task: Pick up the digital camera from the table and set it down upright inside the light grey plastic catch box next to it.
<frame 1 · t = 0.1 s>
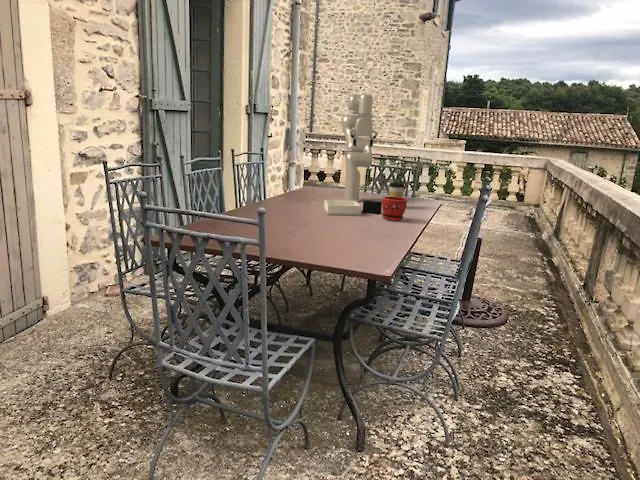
hand: (362, 146, 286), 37 cm above the table, tool pointing down, fingers open, 9 cm apart
digital camera: (372, 213, 281), on the table
coffee cup: (394, 207, 302), on the table
catch box: (341, 212, 278), on the table
plant pot: (393, 219, 265), on the table
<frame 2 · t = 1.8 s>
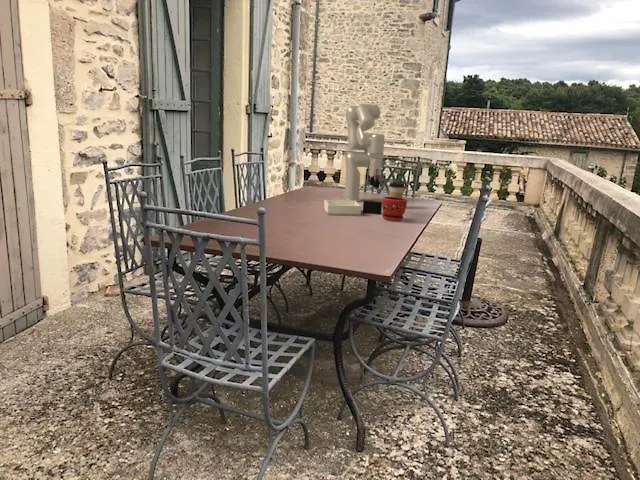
hand: (374, 186, 277), 15 cm above the table, tool pointing down, fingers open, 9 cm apart
nothing on the table moved.
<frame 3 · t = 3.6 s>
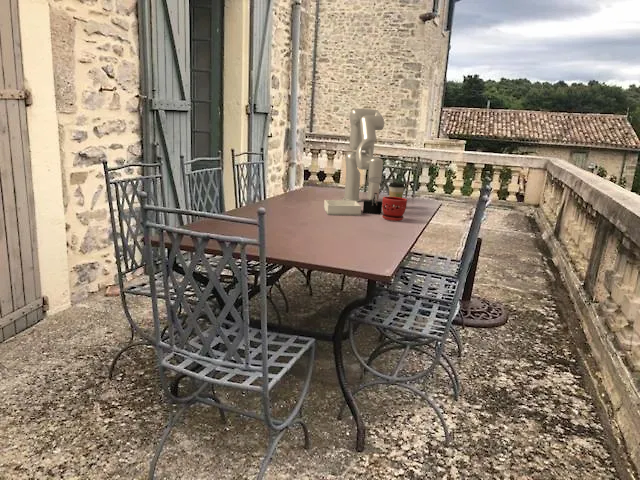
hand: (372, 210, 280), 1 cm above the table, tool pointing down, fingers closed on digital camera, 6 cm apart
digital camera: (372, 213, 281), on the table, touching gripper
everything else where it was.
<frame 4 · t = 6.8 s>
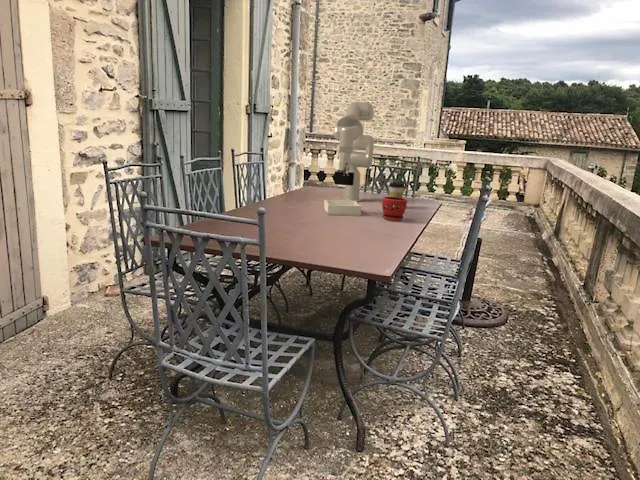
hand: (344, 181, 273), 18 cm above the table, tool pointing down, fingers closed on digital camera, 6 cm apart
digital camera: (344, 184, 274), point 16 cm above the table, touching gripper
everything else where it was.
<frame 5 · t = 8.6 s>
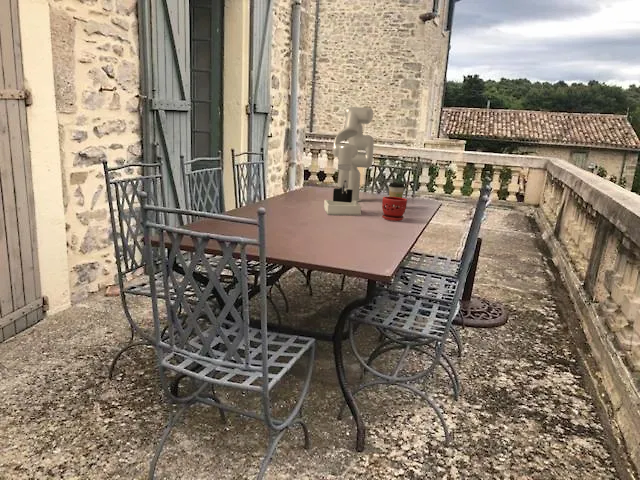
hand: (342, 198, 276), 8 cm above the table, tool pointing down, fingers closed on digital camera, 6 cm apart
digital camera: (342, 201, 276), point 6 cm above the table, touching gripper
everything else where it was.
when the fingers open (3 cm above the table, at t = 10.0 s): digital camera drops 1 cm, resting on catch box.
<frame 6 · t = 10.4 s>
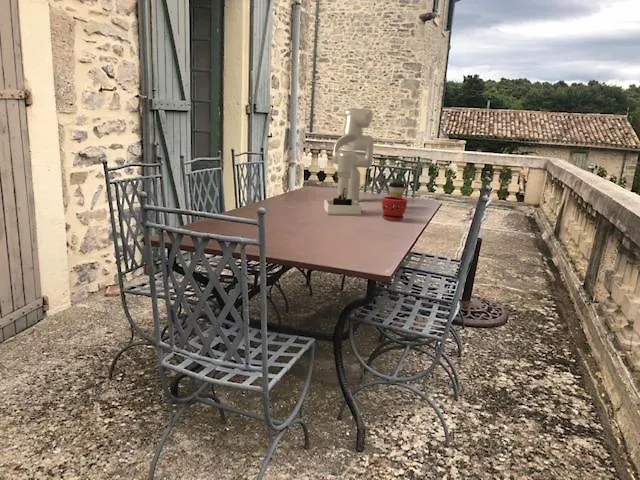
hand: (342, 205, 277), 4 cm above the table, tool pointing down, fingers open, 9 cm apart
digital camera: (342, 211, 277), point 1 cm above the table, touching catch box
everything else where it was.
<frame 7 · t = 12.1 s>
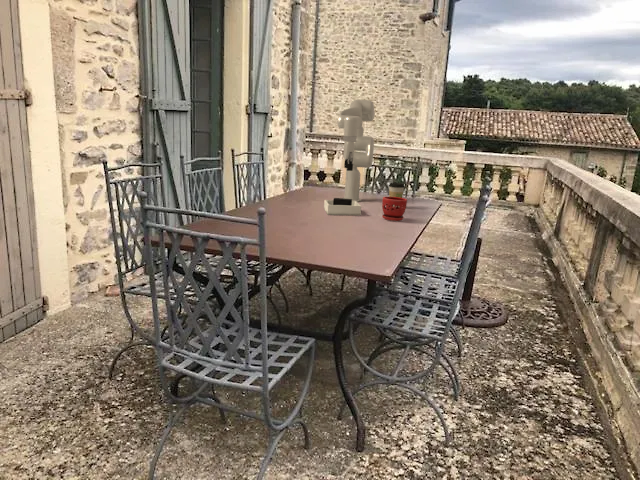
hand: (348, 169, 278), 24 cm above the table, tool pointing down, fingers open, 9 cm apart
nothing on the table moved.
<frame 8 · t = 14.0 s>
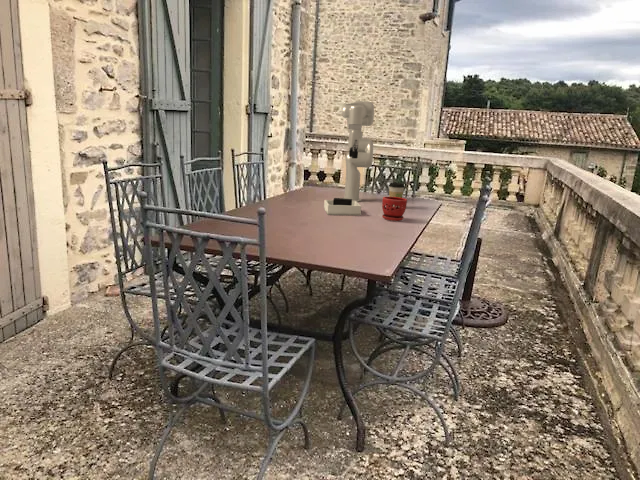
hand: (353, 157, 283), 30 cm above the table, tool pointing down, fingers open, 9 cm apart
nothing on the table moved.
at the end: digital camera inside the target area on the catch box (0.2 cm from its centre), point 0.8 cm above the catch box's base; the gripper is holding nothing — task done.
